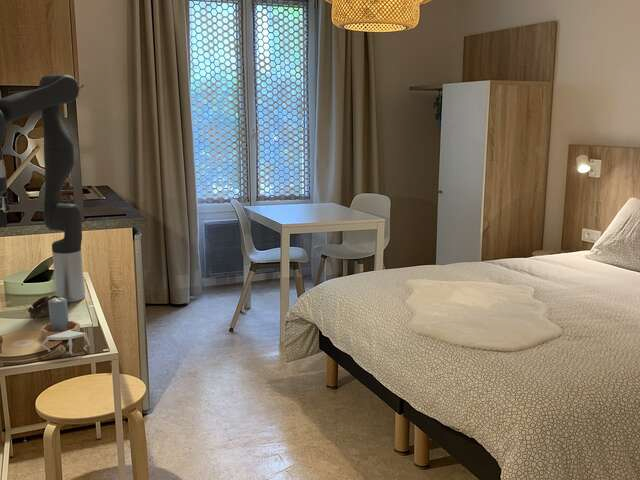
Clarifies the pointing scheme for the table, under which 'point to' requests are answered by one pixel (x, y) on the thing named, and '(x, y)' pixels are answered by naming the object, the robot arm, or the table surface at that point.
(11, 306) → the table surface
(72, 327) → the terracotta bowl
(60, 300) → the pebble cup
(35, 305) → the pottery mug
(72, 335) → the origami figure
